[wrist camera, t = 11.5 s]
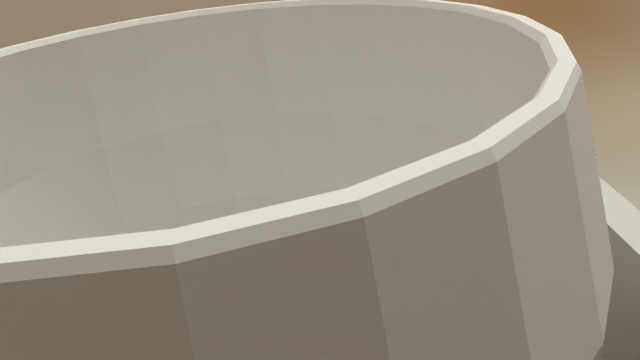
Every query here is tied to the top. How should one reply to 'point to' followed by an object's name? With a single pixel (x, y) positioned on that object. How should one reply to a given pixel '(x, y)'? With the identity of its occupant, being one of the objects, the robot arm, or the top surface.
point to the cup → (301, 188)
